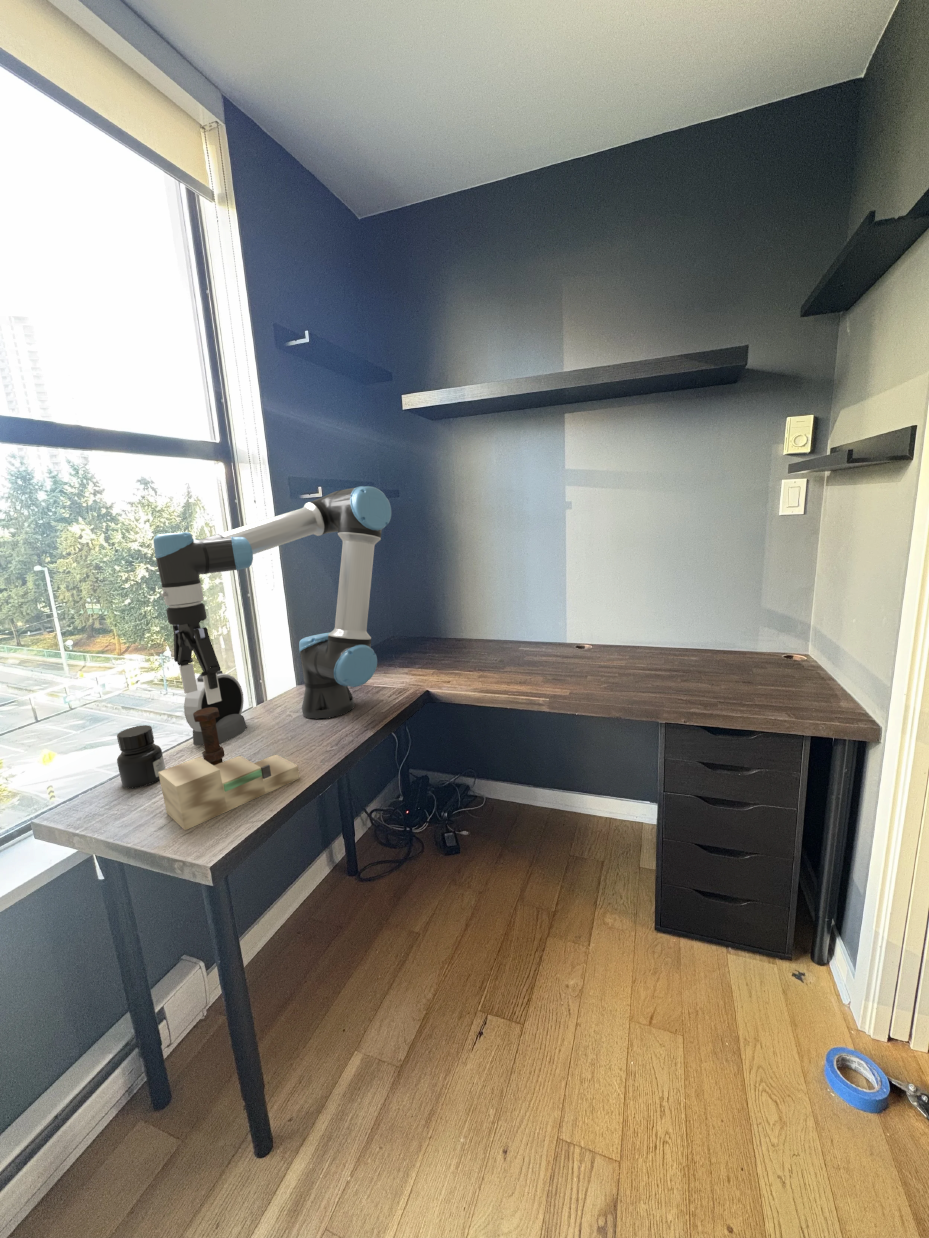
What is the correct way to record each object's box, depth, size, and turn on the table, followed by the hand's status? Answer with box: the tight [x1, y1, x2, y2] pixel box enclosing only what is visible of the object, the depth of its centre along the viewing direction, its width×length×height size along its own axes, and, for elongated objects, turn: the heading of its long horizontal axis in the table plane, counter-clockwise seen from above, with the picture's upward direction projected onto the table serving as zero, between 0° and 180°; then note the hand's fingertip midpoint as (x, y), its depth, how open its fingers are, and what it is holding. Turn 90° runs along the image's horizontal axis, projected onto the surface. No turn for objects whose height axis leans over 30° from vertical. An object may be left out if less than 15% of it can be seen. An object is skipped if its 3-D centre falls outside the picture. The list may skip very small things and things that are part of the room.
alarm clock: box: [183, 670, 248, 746], centre depth 144 cm, size 16×10×18 cm, turn 161°
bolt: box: [193, 707, 226, 766], centre depth 122 cm, size 6×5×15 cm
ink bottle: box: [116, 724, 166, 789], centre depth 121 cm, size 10×9×12 cm
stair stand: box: [158, 754, 301, 831], centre depth 111 cm, size 24×11×9 cm, turn 137°
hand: (202, 697), depth 120 cm, fingers open, 13 cm apart
